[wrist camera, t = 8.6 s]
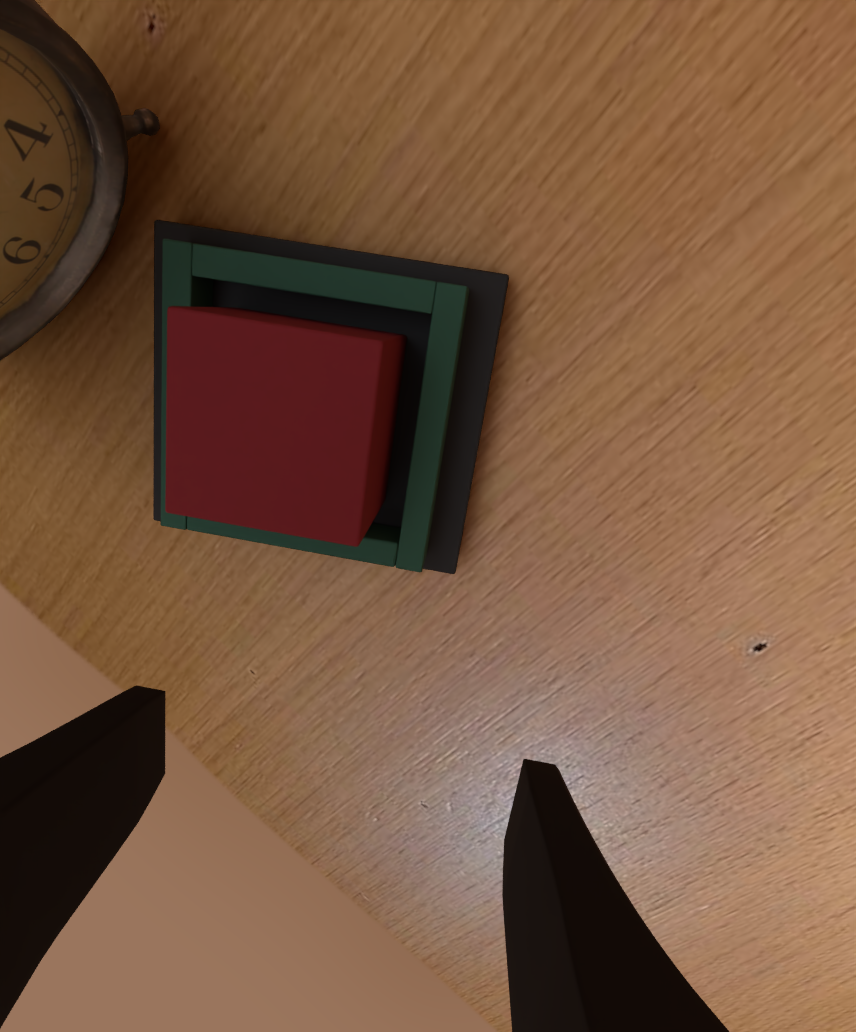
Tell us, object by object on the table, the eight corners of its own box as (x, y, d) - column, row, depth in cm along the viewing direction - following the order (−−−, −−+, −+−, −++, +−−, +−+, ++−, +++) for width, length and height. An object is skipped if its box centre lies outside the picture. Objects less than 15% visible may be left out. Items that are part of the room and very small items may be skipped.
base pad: (170, 509, 21) (128, 535, 19) (174, 224, 18) (124, 210, 16) (457, 561, 21) (452, 594, 18) (508, 276, 18) (510, 271, 15)
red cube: (228, 474, 19) (163, 514, 15) (236, 307, 17) (165, 305, 14) (385, 501, 19) (358, 548, 15) (407, 335, 17) (384, 341, 13)
